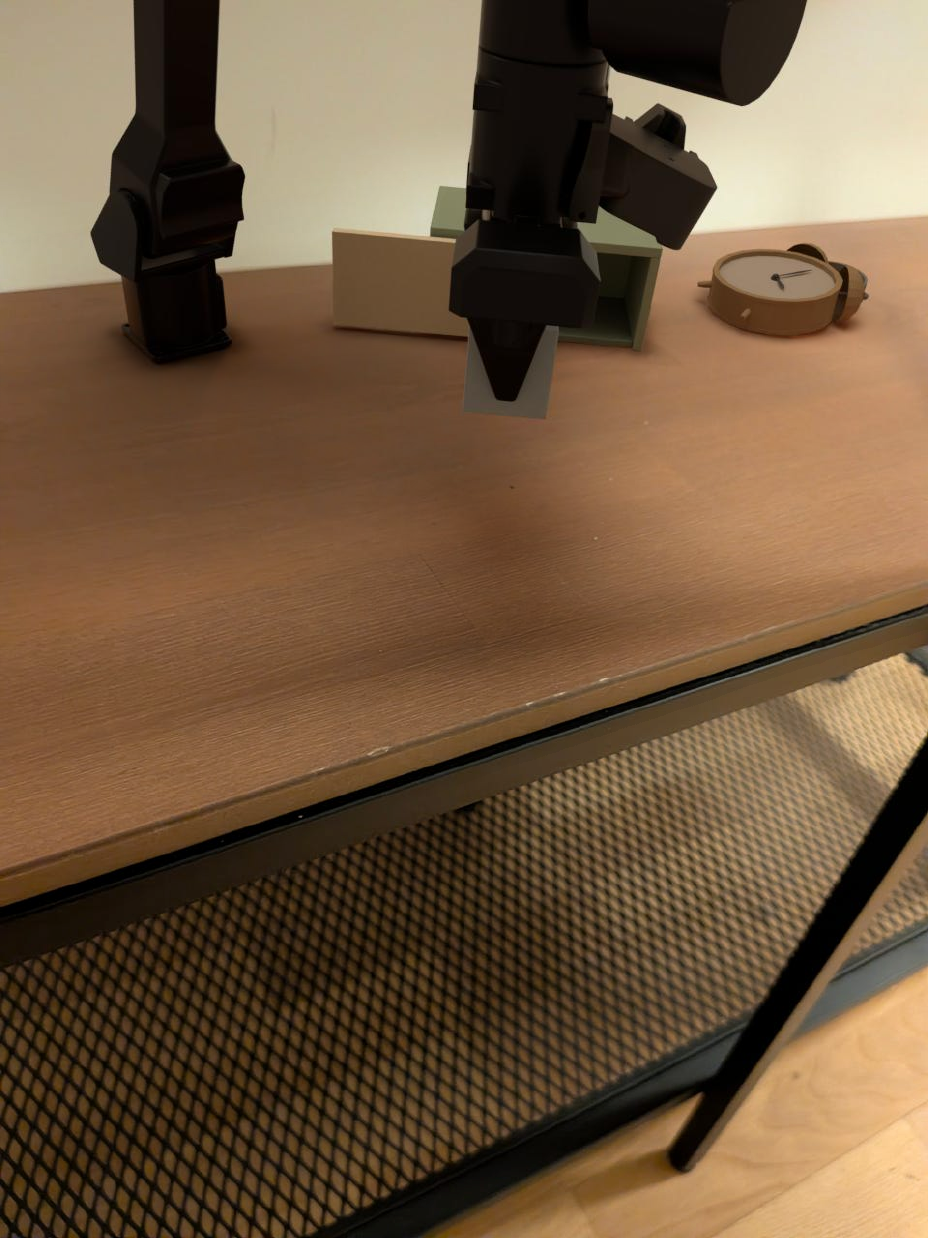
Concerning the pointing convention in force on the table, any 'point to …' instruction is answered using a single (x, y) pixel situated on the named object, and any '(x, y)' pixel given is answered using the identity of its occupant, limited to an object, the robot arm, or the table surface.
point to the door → (393, 282)
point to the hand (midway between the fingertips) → (506, 378)
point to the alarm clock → (784, 290)
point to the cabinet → (622, 269)
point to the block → (532, 391)
